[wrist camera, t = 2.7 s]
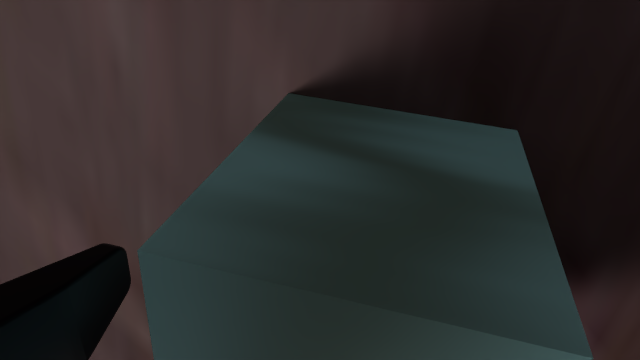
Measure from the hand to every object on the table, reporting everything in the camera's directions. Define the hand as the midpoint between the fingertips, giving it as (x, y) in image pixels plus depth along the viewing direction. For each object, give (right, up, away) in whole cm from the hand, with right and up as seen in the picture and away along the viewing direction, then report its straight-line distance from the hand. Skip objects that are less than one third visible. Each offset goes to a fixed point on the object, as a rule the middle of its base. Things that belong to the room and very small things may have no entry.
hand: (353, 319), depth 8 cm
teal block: (+1, +2, +3) cm, 4 cm away
